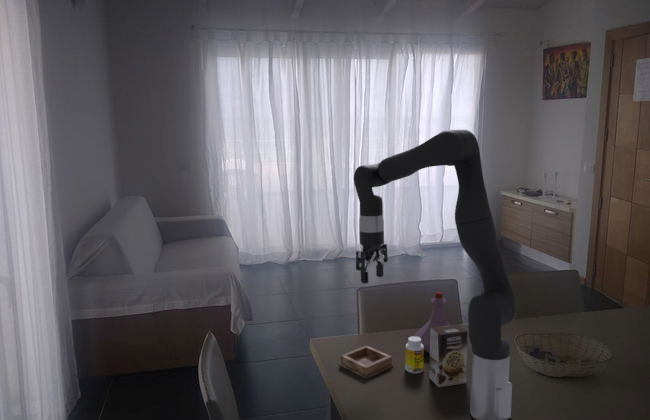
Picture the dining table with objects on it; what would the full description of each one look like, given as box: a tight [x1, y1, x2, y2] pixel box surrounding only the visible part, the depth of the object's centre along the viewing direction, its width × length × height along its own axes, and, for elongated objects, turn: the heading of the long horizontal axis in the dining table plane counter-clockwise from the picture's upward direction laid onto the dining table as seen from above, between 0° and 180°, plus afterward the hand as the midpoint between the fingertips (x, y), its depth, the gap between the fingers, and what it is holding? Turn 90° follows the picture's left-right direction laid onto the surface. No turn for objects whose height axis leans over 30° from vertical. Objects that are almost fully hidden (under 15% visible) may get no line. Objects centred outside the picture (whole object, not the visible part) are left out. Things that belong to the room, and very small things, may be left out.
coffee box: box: [428, 324, 469, 388], centre depth 149 cm, size 9×6×16 cm
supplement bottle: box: [404, 335, 425, 374], centre depth 157 cm, size 6×6×10 cm
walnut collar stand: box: [339, 344, 394, 380], centre depth 161 cm, size 12×12×3 cm
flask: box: [413, 291, 451, 354], centre depth 170 cm, size 16×16×20 cm
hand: (372, 279), depth 160 cm, fingers open, 8 cm apart
